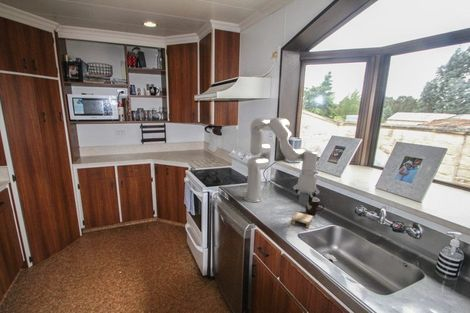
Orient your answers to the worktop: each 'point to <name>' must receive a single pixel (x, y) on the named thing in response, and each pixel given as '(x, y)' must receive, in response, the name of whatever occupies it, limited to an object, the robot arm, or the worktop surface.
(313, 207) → the coffee mug
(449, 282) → the worktop surface
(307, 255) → the worktop surface
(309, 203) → the robot arm
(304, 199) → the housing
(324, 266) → the worktop surface
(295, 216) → the stand
